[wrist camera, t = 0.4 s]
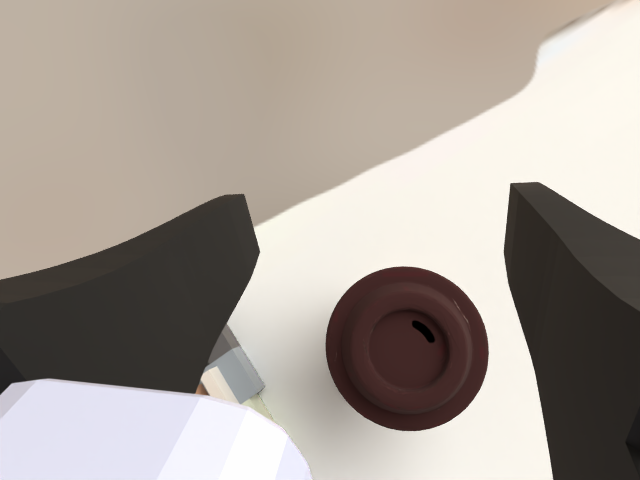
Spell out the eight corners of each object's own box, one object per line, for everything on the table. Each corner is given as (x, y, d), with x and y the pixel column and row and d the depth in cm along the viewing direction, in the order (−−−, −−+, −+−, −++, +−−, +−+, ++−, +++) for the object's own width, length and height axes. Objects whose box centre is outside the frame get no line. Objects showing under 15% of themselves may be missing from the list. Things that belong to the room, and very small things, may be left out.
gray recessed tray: (265, 386, 39) (258, 392, 37) (153, 463, 39) (139, 474, 37) (208, 294, 41) (198, 293, 38) (102, 368, 41) (85, 372, 39)
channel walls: (245, 414, 36) (239, 421, 34) (162, 472, 36) (151, 482, 35) (216, 366, 37) (208, 369, 35) (135, 422, 37) (123, 429, 35)
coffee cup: (351, 394, 38) (341, 454, 23) (329, 288, 40) (308, 282, 25) (458, 374, 37) (518, 424, 22) (432, 267, 39) (472, 248, 24)
